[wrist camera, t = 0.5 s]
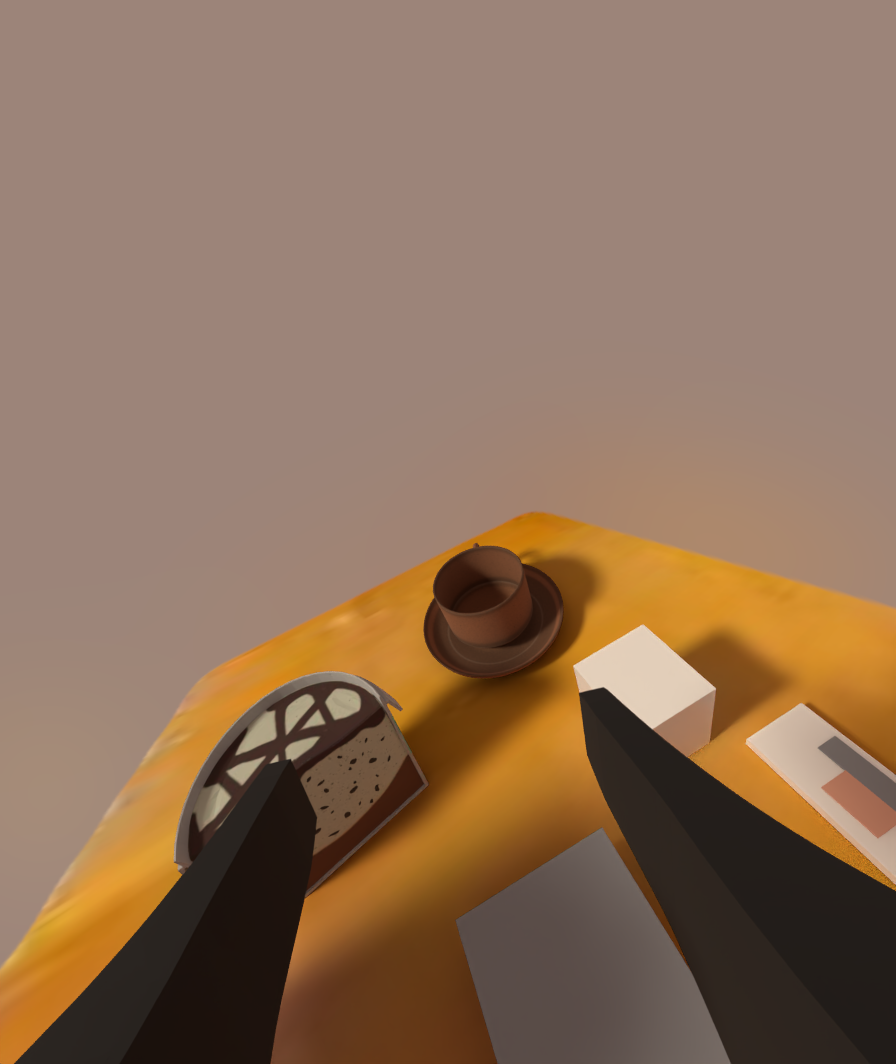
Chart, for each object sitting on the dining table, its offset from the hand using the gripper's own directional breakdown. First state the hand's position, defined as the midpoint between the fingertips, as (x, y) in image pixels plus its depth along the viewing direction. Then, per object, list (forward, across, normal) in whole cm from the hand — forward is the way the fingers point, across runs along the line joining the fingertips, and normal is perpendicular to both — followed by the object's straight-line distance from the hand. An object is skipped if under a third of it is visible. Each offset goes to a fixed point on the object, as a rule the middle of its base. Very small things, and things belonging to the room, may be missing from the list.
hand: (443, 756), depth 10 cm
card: (+6, -18, +15) cm, 24 cm away
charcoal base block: (+2, -3, +18) cm, 19 cm away
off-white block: (+12, -11, +14) cm, 21 cm away
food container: (+14, +9, +17) cm, 23 cm away
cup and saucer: (+23, -4, +12) cm, 27 cm away
